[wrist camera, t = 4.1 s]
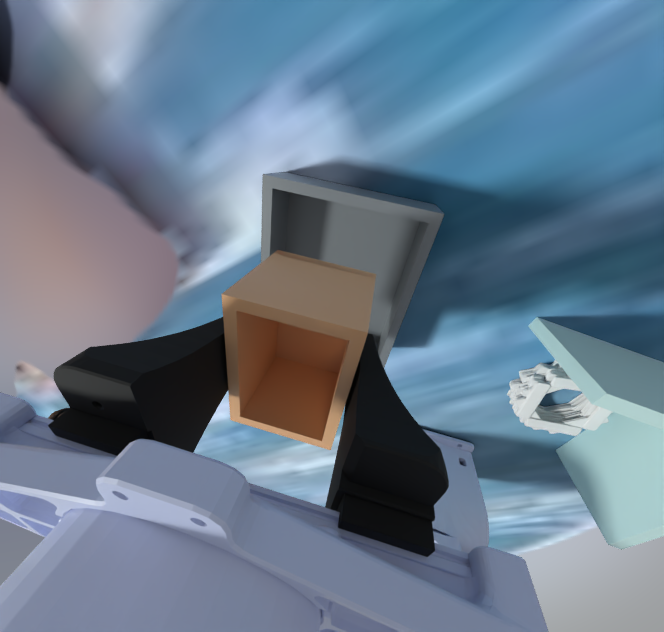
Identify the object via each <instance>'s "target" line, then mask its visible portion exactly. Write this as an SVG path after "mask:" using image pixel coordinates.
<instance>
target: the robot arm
mask: <svg viewBox="0 0 664 632" xmlns="http://www.w3.org/2000/svg"><path fill="white" fill-rule="evenodd" d="M54 381H55V383H56V385H57V387H58V388H59V390H60V392H61V393H62V395H63V396H64V398H65V400H66V401H67V403H68V404H69V406H70V409H68V410H67V411H66V412H64V413H63V414H62V415H61V416H59V417H58V418H57V419H55V420H51V419H48V418H45V417H41V416H38V415H36V412H35V410H34V408H33V407H32V406H31V405H30V404H29V403H28V402H26V401H25V400H22V399H20V398H17V397H14V396H10V395H8V394H4V393H1V392H0V518H1V519H4V520H6V521H8V522H11V523H13V524H15V525H18V526H20V527H22V528H25V529H27V530H29V531H32V532H34V533H36V534H39V535H41V536H44V537H45V538H44V540H42V542H41V543H40V544H39V545H38V546H37V547H36V548H35V549H34V550H33V551H32V552H31V554H30V555H29V556H28V557H27V558H26V559H25V560H24V561H23V562H22V563H21V564H20V565H19V567H18V568H17V569H16V570H15V571H14V572H13V573H12V574H11V575H10V576H9V577H8V578H7V579H6V581H5V582H4V583H3V584H2V585H1V586H0V632H548V629H547V626H546V623H545V619H544V617H543V613H542V610H541V608H540V605H539V601H538V598H537V595H536V592H535V589H534V586H533V583H532V580H531V577H530V574H529V571H528V568H527V565H526V562H525V560H524V559H523V558H522V557H519V556H516V555H513V554H509V553H506V552H503V551H500V550H497V549H494V548H490V547H488V543H489V523H488V516H487V511H486V507H485V503H484V500H483V496H482V492H481V488H480V485H479V481H478V477H477V473H476V469H475V466H474V462H473V458H472V454H471V452H472V451H473V450H474V445H473V444H472V443H469V442H466V441H462V440H459V439H455V438H452V437H449V436H445V435H442V434H438V433H435V432H431V431H428V430H424V429H422V428H421V427H420V426H419V424H418V423H417V422H416V421H415V420H414V418H413V417H412V416H411V414H410V413H409V412H408V410H407V409H406V407H405V406H404V405H403V403H402V402H401V400H400V399H399V397H398V395H397V394H396V392H395V390H394V388H393V387H392V385H391V383H390V381H389V379H388V377H387V374H386V372H385V370H384V368H383V365H382V362H381V360H380V357H379V354H378V351H377V347H376V344H375V339H374V336H373V334H369V333H368V334H367V338H366V341H365V344H364V347H363V350H362V353H361V356H360V360H359V363H358V366H357V369H356V372H355V375H354V378H353V381H352V385H351V388H350V391H349V394H348V397H347V400H346V404H345V413H344V421H343V427H342V432H341V437H340V441H339V446H338V451H337V456H336V460H335V465H334V470H333V474H332V479H331V484H330V488H329V493H328V497H327V502H326V506H325V507H322V506H319V505H316V504H312V503H309V502H306V501H303V500H300V499H297V498H294V497H291V496H288V495H284V494H281V493H278V492H275V491H272V490H269V489H266V488H263V487H260V486H256V485H253V484H250V483H248V482H247V480H246V478H245V476H244V475H242V474H241V473H240V472H239V471H238V470H236V469H235V468H234V467H231V466H229V465H227V464H225V463H223V462H220V461H217V460H214V459H211V458H208V457H205V456H202V455H198V454H195V453H193V452H194V450H195V448H196V446H197V444H198V442H199V440H200V438H201V437H202V435H203V433H204V431H205V429H206V427H207V425H208V423H209V422H210V420H211V418H212V416H213V415H214V413H215V411H216V409H217V407H218V406H219V404H220V402H221V401H222V399H223V397H224V396H225V394H226V392H227V391H228V376H227V362H226V348H225V334H224V320H223V317H222V318H219V319H217V320H214V321H212V322H209V323H207V324H204V325H202V326H199V327H196V328H193V329H190V330H186V331H183V332H179V333H176V334H171V335H167V336H163V337H159V338H154V339H149V340H144V341H138V342H131V343H124V344H116V345H107V346H98V347H90V348H88V349H86V350H85V351H83V352H81V353H80V354H78V355H76V356H75V357H73V358H72V359H70V360H69V361H67V362H65V363H64V364H62V365H60V366H59V367H57V368H56V369H55V372H54Z"/></svg>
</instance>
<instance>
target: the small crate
mask: <svg viewBox="0 0 664 632" xmlns="http://www.w3.org/2000/svg"><path fill="white" fill-rule="evenodd" d="M375 279H376V274H374V273H370V272H366V271H362V270H358V269H354V268H350V267H346V266H342V265H338V264H333V263H329V262H325V261H321V260H317V259H313V258H309V257H305V256H301V255H297V254H293V253H289V252H285V251H281V250H277V251H276V252H275V253H273V254H272V255H271V256H269V257H268V258H267V259H266V260H264V261H263V262H262V263H261V264H259V265H258V266H257V267H255V268H254V269H253V270H252V271H250V272H249V273H248V274H247V275H245V276H244V277H243V278H242V279H240V280H239V281H238V282H236V283H235V284H234V285H233V286H231V287H230V288H229V289H228V290H226V291H225V292H224V293H222V306H223V320H224V334H225V348H226V362H227V376H228V391H229V405H230V419H231V420H232V421H235V422H239V423H242V424H245V425H249V426H252V427H255V428H259V429H262V430H265V431H269V432H272V433H275V434H279V435H282V436H285V437H288V438H292V439H295V440H298V441H302V442H305V443H308V444H312V445H315V446H318V447H322V448H325V449H328V450H331V447H332V444H333V441H334V438H335V435H336V432H337V428H338V425H339V422H340V419H341V416H342V413H343V410H344V406H345V403H346V400H347V397H348V394H349V391H350V388H351V385H352V381H353V378H354V375H355V372H356V369H357V366H358V363H359V360H360V356H361V353H362V350H363V347H364V344H365V341H366V338H367V334H368V329H369V322H370V315H371V308H372V301H373V294H374V287H375Z"/></svg>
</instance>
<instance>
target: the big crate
mask: <svg viewBox="0 0 664 632" xmlns="http://www.w3.org/2000/svg"><path fill="white" fill-rule="evenodd" d="M443 217H444V213H443V212H442V211H441V210H440V209H439V208H438V207H437V206H436V205H435V204H431V203H426V202H421V201H417V200H412V199H407V198H403V197H398V196H394V195H389V194H384V193H380V192H375V191H371V190H366V189H361V188H357V187H352V186H348V185H343V184H338V183H334V182H329V181H325V180H320V179H315V178H311V177H306V176H302V175H297V174H292V173H288V172H279V173H270V174H263V186H262V238H261V263H262V262H263V261H264V260H266V259H267V258H268V257H269V256H271V255H272V254H273V253H275V252H276V251H277V250H281V251H285V252H289V253H293V254H297V255H301V256H305V257H309V258H313V259H317V260H321V261H325V262H329V263H333V264H338V265H342V266H346V267H350V268H354V269H358V270H362V271H366V272H370V273H374V274H376V279H375V287H374V294H373V301H372V308H371V315H370V322H369V329H368V333H369V334H373V336H374V339H375V344H376V347H377V351H378V354H379V357H380V360H381V362H382V365H383V368H384V367H385V364H386V362H387V359H388V356H389V354H390V351H391V349H392V346H393V344H394V341H395V339H396V336H397V334H398V331H399V329H400V326H401V323H402V321H403V318H404V316H405V313H406V311H407V308H408V306H409V303H410V301H411V298H412V296H413V293H414V290H415V288H416V285H417V283H418V280H419V278H420V275H421V273H422V270H423V268H424V265H425V262H426V260H427V257H428V255H429V252H430V250H431V247H432V245H433V242H434V240H435V237H436V235H437V232H438V229H439V227H440V224H441V222H442V219H443Z"/></svg>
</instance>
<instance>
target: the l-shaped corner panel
mask: <svg viewBox="0 0 664 632" xmlns="http://www.w3.org/2000/svg"><path fill="white" fill-rule="evenodd" d="M529 328H530V329H531V330H532V331H533V333H534V334H535V335H536V336H537V337H538V339H539V340H540V341H541V342H542V344H543V345H544V346H545V347H546V348H547V350H548V351H549V352H550V353H551V355H552V356H553V357H554V358H555V361H554V362H553V363H552V364H550V365H548V364H544V363H539V364H538V365H537V366H536V367H534V368H531V369H526V370H521V371H519V374H520V379H515V380H512V381H510V383H509V385H510V388H511V389H510V390H509V391H508V394H507V395H508V396H509V397H510V398H511V400H510V402H509V403H510V404H513V406H512V409H514V412H515V414H516V416H518V417H520V422H523V423H525V424H524V425H525V426H528V427H532V428H533V429H534V430H539V429H543V430H548V431H549V433H550V434H555V433H563V434H568V435H573V436H576V437H575V438H573V439H572V440H570V441H569V442H567V443H566V444H564V445H562V446H561V447H559V448H558V449H556V452H557V454H558V456H559V458H560V459H561V461H562V463H563V465H564V467H565V468H566V470H567V472H568V474H569V475H570V477H571V479H572V481H573V483H574V484H575V486H576V488H577V490H578V492H579V493H580V495H581V497H582V499H583V501H584V502H585V504H586V506H587V508H588V509H589V511H590V513H591V515H592V517H593V518H594V520H595V522H596V524H597V526H598V527H599V529H600V531H601V533H602V534H603V536H604V538H605V540H606V542H607V543H608V545H611V546H614V547H616V548H619V549H625V548H628V547H631V546H634V545H637V544H640V543H643V542H647V541H650V540H653V539H656V538H659V537H662V536H664V362H661V361H658V360H655V359H653V358H650V357H647V356H644V355H641V354H639V353H636V352H633V351H630V350H628V349H625V348H622V347H619V346H616V345H614V344H611V343H608V342H605V341H602V340H600V339H597V338H594V337H591V336H588V335H586V334H583V333H580V332H577V331H574V330H572V329H569V328H566V327H563V326H560V325H558V324H555V323H552V322H549V321H546V320H544V319H541V318H538V317H536V318H535V319H534V320H533V321H532V323H531V324H530V325H529ZM561 389H570V390H577V391H582V394H580V395H579V396H577V397H576V398H575V399H573V400H572V401H570V402H569V403H566V404H559V405H553V406H547V407H543V406H541V405H539V404H540V402H541V401H542V399H543V398H544V396H545V395H546V394H548V393H551V392H554V391H557V390H561ZM582 428H584V429H587V430H585V431H584V432H582V433H581V434H579V433H580V432H581V430H582ZM578 434H579V435H578ZM577 435H578V436H577Z"/></svg>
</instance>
